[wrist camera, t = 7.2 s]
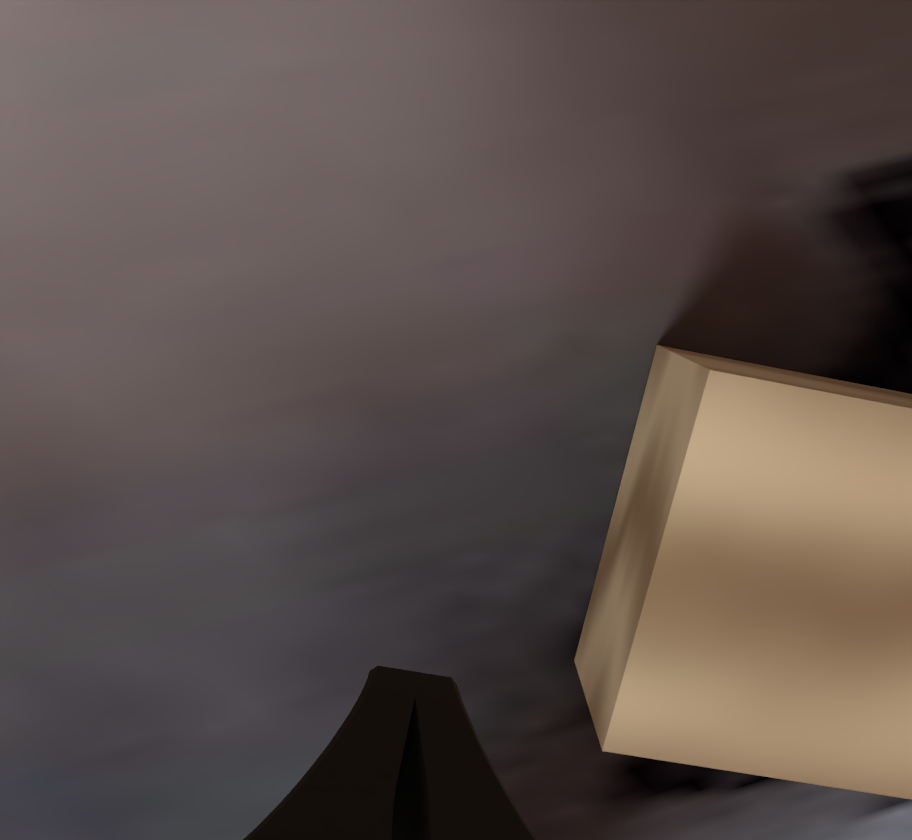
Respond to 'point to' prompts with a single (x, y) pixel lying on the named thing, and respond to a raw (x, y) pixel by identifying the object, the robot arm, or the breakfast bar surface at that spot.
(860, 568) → the beige bevelled block
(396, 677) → the robot arm
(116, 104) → the breakfast bar surface
